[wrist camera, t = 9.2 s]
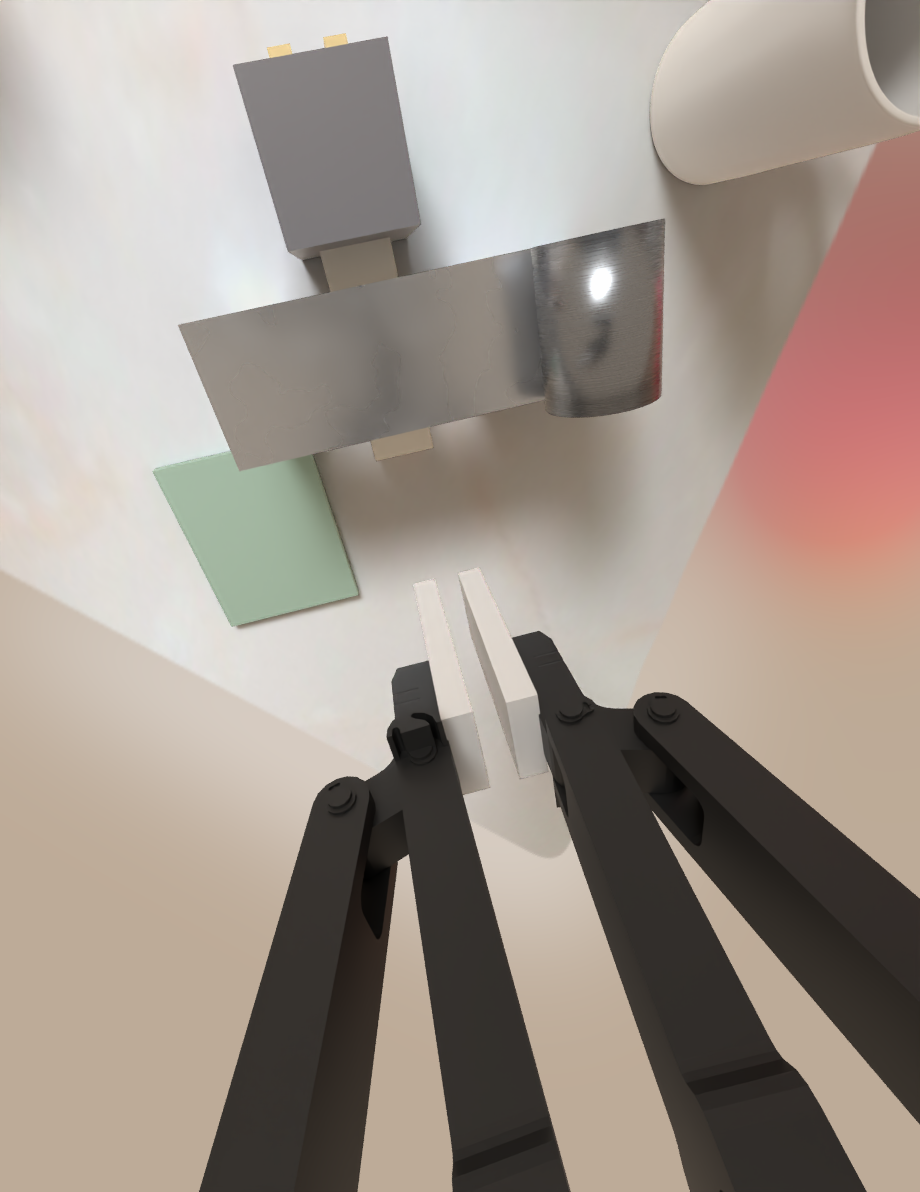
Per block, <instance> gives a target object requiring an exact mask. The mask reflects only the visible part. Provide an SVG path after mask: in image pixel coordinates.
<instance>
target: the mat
mask: <svg viewBox="0 0 920 1192" xmlns="http://www.w3.org/2000/svg"><path fill="white" fill-rule="evenodd" d="M153 474H154V476H155V478H156V479H157V481H158V483H159V485H160V487H161V489H162V491H163V493H164V495H165V497H166V499H167V501H168V503H169V505H170V507H171V509H172V511H173V513H174V515H175V517H176V519H177V521H178V523H179V525H180V527H181V528H182V530H183V532H184V534H185V536H186V538H187V540H188V542H189V544H190V546H191V548H192V550H193V552H194V554H195V556H196V558H197V560H198V562H199V564H200V566H201V568H202V570H203V572H204V574H205V576H206V578H207V579H208V581H209V583H210V585H211V587H212V589H213V591H214V593H215V595H216V597H217V599H218V601H219V603H220V605H221V607H222V609H223V611H224V613H225V615H226V617H227V619H228V621H229V623H230V625H231V627H233V626H237V625H241V624H245V623H249V622H253V621H257V620H261V619H265V618H269V617H273V616H277V615H281V614H285V613H289V612H293V611H297V610H301V609H305V608H309V607H313V606H317V605H321V604H325V603H329V602H333V601H337V600H341V599H345V598H349V597H353V596H357V595H359V592H358V587H357V585H356V582H355V579H354V576H353V573H352V570H351V567H350V564H349V561H348V558H347V555H346V552H345V549H344V546H343V543H342V540H341V537H340V534H339V531H338V528H337V525H336V522H335V519H334V516H333V513H332V510H331V507H330V504H329V501H328V498H327V495H326V492H325V489H324V487H323V484H322V481H321V478H320V475H319V472H318V469H317V466H316V463H315V460H314V457H313V454H312V455H307V456H303V457H299V458H295V459H290V460H286V461H282V462H277V463H273V464H269V465H265V466H260V467H256V468H252V469H248V470H243V471H239V469H238V467H237V465H236V462H235V460H234V457H233V455H232V453H231V451H229V452H224V453H220V454H216V455H211V456H207V457H203V458H198V459H194V460H190V461H185V462H181V463H177V464H172V465H168V466H164V467H160V468H156V469H155V470H154V471H153Z"/></svg>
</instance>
